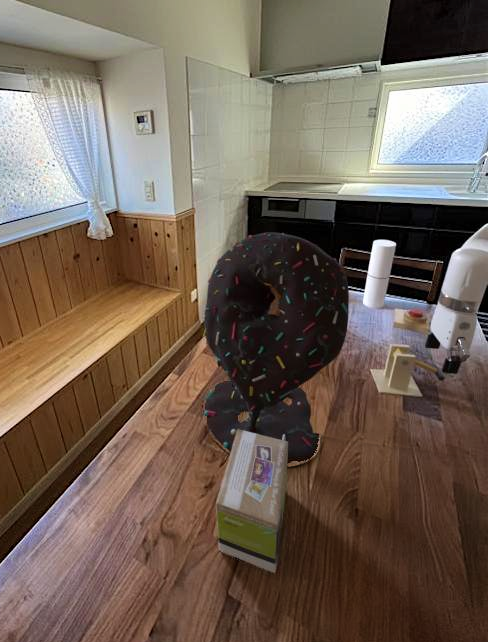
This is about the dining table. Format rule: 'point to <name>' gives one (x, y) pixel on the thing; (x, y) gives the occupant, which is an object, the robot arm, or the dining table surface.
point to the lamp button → (416, 312)
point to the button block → (411, 321)
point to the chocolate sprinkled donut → (272, 336)
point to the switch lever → (424, 365)
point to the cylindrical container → (379, 273)
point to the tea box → (253, 499)
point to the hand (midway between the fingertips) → (439, 359)
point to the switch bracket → (397, 373)
